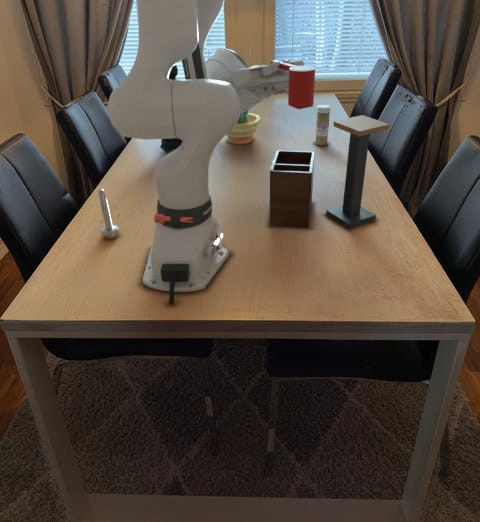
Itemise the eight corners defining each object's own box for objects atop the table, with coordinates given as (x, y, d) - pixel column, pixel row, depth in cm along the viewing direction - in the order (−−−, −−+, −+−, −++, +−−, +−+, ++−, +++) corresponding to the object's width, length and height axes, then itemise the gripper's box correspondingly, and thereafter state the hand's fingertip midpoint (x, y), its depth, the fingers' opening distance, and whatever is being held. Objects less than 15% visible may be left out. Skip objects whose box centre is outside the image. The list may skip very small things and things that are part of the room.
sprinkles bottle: (318, 146, 168) (320, 108, 161) (312, 142, 172) (315, 104, 164) (329, 144, 169) (332, 106, 162) (324, 140, 173) (327, 103, 165)
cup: (318, 106, 112) (320, 68, 107) (297, 111, 110) (299, 72, 105) (282, 93, 123) (283, 58, 118) (263, 97, 120) (263, 61, 116)
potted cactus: (267, 143, 172) (268, 71, 159) (228, 149, 168) (225, 76, 154) (251, 131, 185) (250, 63, 171) (214, 136, 180) (210, 67, 166)
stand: (375, 219, 122) (389, 124, 108) (348, 229, 118) (359, 131, 105) (352, 206, 129) (362, 114, 115) (325, 215, 125) (333, 121, 111)
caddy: (308, 228, 119) (312, 173, 111) (269, 225, 121) (269, 171, 113) (311, 203, 131) (314, 151, 123) (275, 201, 133) (276, 150, 124)
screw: (97, 237, 119) (112, 229, 122) (109, 243, 116) (124, 235, 119) (86, 189, 112) (103, 183, 115) (98, 195, 109) (115, 187, 112)
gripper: (219, 77, 122) (242, 55, 109) (285, 67, 130) (313, 45, 118) (226, 101, 123) (249, 82, 110) (291, 89, 131) (319, 71, 118)
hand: (283, 63), depth 114 cm, fingers closed on cup
